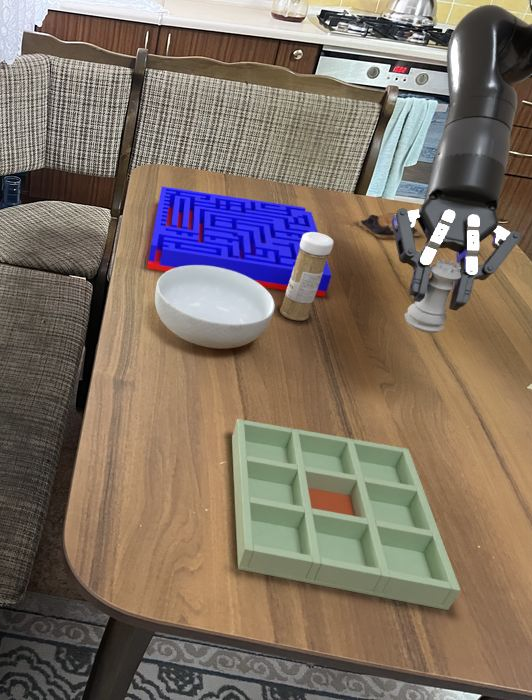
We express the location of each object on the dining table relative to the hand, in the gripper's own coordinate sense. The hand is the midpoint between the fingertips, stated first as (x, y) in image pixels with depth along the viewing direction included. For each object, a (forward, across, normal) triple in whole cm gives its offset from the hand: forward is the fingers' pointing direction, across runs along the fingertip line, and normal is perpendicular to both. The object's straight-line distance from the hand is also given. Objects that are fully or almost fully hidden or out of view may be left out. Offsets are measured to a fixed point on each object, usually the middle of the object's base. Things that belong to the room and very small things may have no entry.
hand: (437, 303), depth 77 cm
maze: (-18, -26, +44) cm, 54 cm away
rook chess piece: (+2, 0, +4) cm, 5 cm away
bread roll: (-36, +3, +62) cm, 72 cm away
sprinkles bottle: (-3, -13, +29) cm, 32 cm away
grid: (+26, -6, -2) cm, 27 cm away
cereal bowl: (+5, -25, +20) cm, 32 cm away
